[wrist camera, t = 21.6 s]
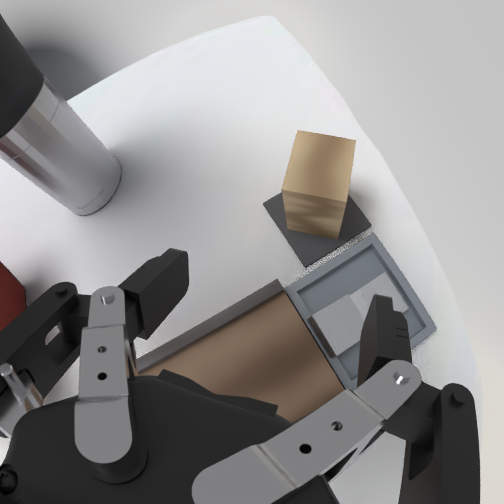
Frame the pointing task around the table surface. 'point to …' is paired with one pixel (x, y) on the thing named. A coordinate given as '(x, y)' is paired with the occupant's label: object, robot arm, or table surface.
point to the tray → (347, 282)
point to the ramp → (253, 356)
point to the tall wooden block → (317, 183)
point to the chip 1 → (337, 325)
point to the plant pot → (10, 297)
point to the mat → (313, 245)
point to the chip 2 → (380, 287)
